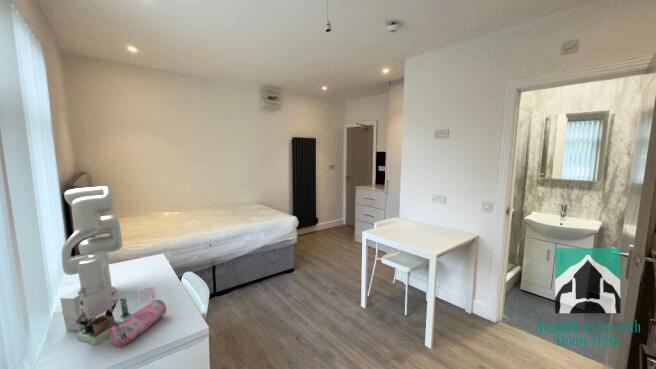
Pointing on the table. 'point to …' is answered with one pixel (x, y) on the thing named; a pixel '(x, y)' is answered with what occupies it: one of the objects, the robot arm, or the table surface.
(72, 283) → the table surface
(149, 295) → the mobile phone
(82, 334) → the tray
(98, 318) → the brown square frame
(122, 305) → the grey stamp
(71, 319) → the skincare box
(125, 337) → the pencil case
